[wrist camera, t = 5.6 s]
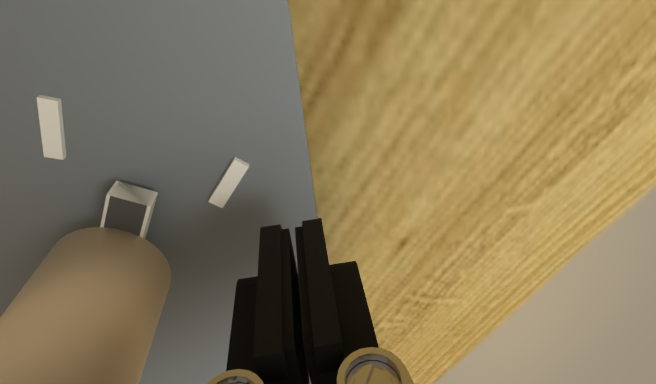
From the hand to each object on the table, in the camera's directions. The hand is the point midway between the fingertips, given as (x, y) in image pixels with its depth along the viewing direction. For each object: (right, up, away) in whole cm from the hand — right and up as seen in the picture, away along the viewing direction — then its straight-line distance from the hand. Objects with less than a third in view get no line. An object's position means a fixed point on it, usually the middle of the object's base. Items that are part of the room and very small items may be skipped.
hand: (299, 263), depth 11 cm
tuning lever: (-8, -4, +4) cm, 10 cm away
